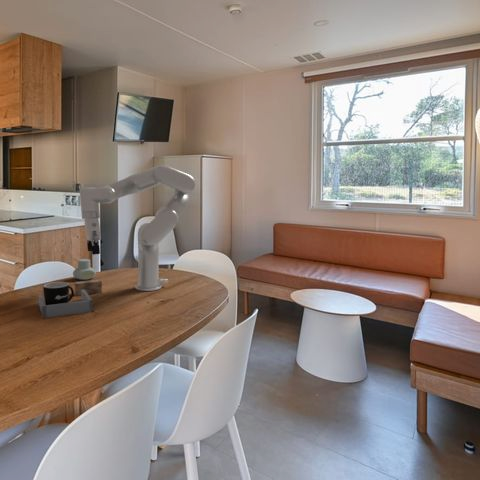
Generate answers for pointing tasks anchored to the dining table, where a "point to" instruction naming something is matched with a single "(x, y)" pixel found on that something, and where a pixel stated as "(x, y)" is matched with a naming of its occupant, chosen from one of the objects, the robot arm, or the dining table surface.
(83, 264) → the air freshener
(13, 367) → the dining table surface
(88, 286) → the light brown rectangular block
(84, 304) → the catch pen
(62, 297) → the mug
